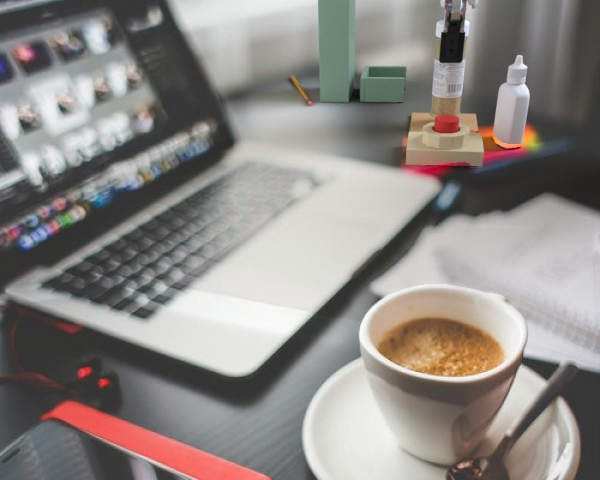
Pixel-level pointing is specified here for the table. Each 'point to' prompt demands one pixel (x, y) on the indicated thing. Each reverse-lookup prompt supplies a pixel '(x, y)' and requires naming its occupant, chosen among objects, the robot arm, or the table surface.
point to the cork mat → (424, 118)
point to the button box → (444, 147)
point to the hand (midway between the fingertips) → (450, 56)
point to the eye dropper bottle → (512, 105)
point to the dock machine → (350, 60)
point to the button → (446, 124)
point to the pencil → (301, 91)
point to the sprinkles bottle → (447, 79)
